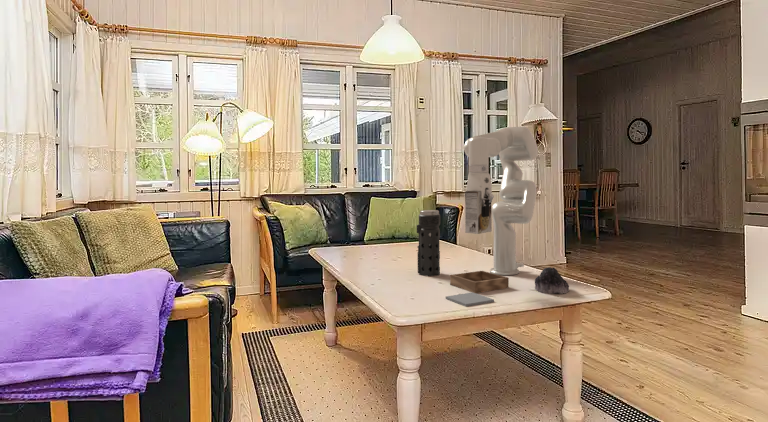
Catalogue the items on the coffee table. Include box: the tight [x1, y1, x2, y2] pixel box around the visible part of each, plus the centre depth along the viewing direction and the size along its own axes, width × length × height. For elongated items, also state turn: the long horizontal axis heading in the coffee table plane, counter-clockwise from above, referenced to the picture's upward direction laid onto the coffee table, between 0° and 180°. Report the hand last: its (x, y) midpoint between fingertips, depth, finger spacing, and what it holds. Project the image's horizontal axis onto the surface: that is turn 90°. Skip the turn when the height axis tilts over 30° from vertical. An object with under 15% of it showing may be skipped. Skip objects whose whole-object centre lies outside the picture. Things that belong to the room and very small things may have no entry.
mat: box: [445, 292, 495, 307], centre depth 177 cm, size 12×12×1 cm
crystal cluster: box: [534, 267, 570, 295], centre depth 190 cm, size 13×14×10 cm
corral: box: [449, 270, 510, 294], centre depth 198 cm, size 16×16×4 cm
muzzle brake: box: [416, 209, 441, 277], centre depth 222 cm, size 10×28×10 cm
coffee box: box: [464, 190, 493, 235], centre depth 194 cm, size 9×6×16 cm
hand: (478, 215), depth 194 cm, fingers closed on coffee box, 7 cm apart
